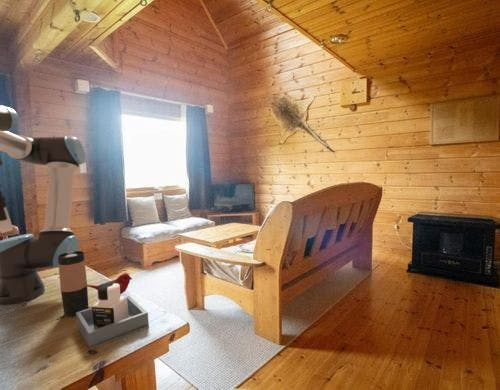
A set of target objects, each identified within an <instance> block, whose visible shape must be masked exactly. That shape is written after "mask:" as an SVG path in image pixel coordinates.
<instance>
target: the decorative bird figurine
mask: <svg viewBox="0 0 500 390" xmlns="http://www.w3.org/2000/svg"><path fill="white" fill-rule="evenodd" d="M131 280H133V278H132V277H131V276H130V274H129V273H127V272H126V273H122V274H120V275H119V276H118V277H117V278H115V279H113V280H109V281H107V282H103V283H101V284H99V285H93V284H87V288H92V289H95V290H97V291H98V288H99V287H100V286H102V285H104V284H107V283H117V284H119V285H120V295H122V294H124V293H125V291H127V289H128V288H129V287H128V286H129V284H130V282H131Z"/></svg>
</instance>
